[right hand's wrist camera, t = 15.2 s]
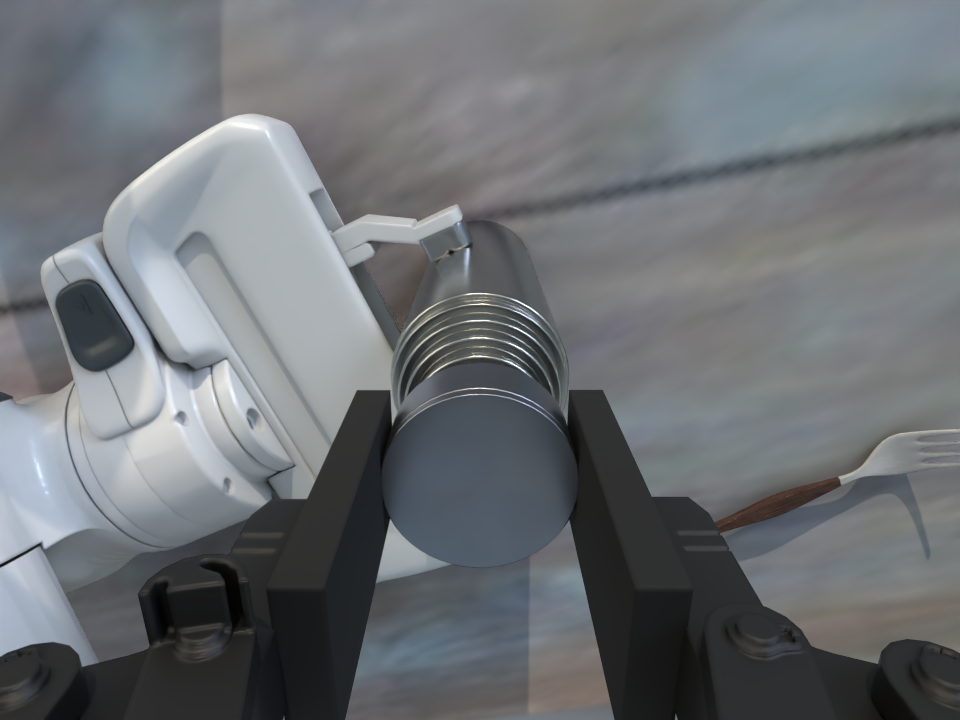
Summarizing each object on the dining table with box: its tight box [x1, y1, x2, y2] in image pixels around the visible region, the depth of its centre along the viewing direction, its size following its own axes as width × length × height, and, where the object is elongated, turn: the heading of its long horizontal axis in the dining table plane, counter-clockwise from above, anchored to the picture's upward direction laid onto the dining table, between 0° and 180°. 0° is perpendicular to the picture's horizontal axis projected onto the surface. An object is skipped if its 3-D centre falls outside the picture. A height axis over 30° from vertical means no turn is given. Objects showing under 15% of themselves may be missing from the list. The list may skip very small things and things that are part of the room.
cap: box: [381, 363, 579, 568], centre depth 14 cm, size 4×4×2 cm
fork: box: [715, 429, 960, 533], centre depth 34 cm, size 3×16×2 cm, turn 115°
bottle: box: [391, 221, 569, 412], centre depth 22 cm, size 5×5×19 cm
